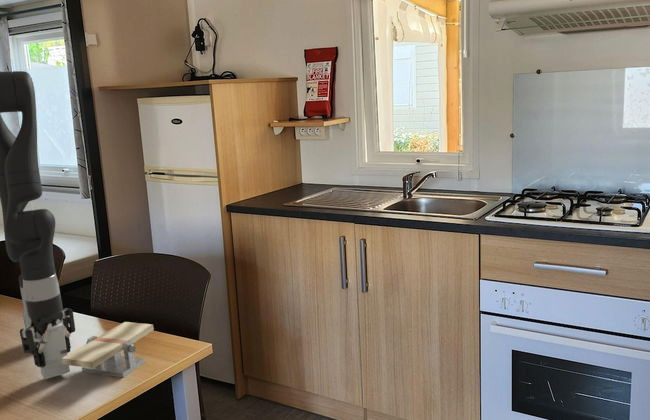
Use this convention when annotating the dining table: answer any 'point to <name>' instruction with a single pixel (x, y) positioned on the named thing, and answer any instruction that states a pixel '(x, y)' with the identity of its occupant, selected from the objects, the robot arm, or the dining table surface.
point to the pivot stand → (117, 362)
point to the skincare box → (54, 352)
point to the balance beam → (106, 345)
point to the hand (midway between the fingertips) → (54, 359)
